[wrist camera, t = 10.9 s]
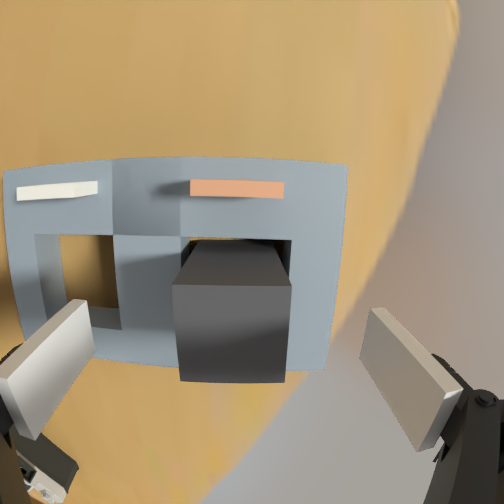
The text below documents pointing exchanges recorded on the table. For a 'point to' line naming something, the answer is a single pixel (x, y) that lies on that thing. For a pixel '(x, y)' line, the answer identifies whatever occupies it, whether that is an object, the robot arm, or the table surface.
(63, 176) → the socket block
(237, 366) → the plug
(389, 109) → the table surface
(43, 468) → the camera
